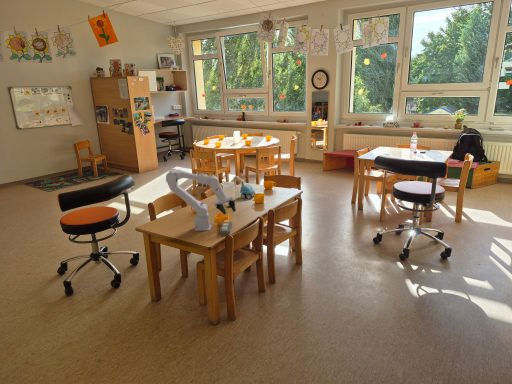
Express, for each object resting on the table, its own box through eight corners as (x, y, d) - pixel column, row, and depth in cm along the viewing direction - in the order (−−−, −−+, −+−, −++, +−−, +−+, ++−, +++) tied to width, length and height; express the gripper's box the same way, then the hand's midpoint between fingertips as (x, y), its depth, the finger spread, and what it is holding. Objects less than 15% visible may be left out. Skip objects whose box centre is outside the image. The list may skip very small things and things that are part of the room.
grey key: (223, 228, 216) (223, 225, 215) (223, 226, 219) (223, 223, 218) (228, 228, 216) (227, 225, 215) (228, 226, 219) (228, 223, 218)
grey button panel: (219, 235, 211) (219, 231, 210) (222, 225, 225) (222, 221, 225) (229, 235, 210) (229, 231, 210) (232, 225, 225) (231, 221, 224)
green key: (222, 232, 211) (221, 228, 210) (222, 230, 214) (222, 226, 213) (227, 232, 211) (226, 228, 210) (227, 230, 213) (227, 226, 213)
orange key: (224, 225, 221) (224, 221, 221) (224, 223, 224) (224, 220, 223) (229, 225, 221) (228, 221, 220) (229, 223, 224) (229, 219, 223)
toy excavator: (238, 194, 288) (237, 174, 283) (256, 196, 281) (255, 175, 275) (233, 197, 280) (231, 177, 275) (251, 199, 273) (250, 178, 268)
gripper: (232, 188, 216) (241, 206, 220) (214, 194, 223) (223, 211, 227) (227, 193, 210) (237, 212, 214) (209, 199, 217) (218, 217, 221)
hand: (230, 212), depth 220 cm, fingers open, 7 cm apart
